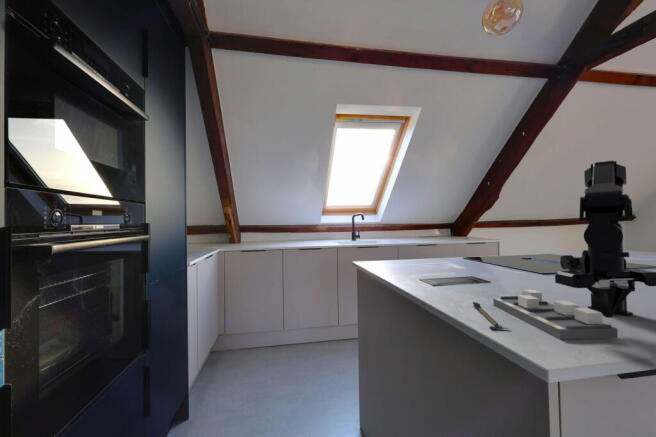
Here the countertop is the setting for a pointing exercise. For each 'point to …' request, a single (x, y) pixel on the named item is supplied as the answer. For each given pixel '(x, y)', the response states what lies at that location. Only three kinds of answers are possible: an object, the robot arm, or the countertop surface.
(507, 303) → the switch bank
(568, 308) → the white rectangular block
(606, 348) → the countertop surface
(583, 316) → the off-white short block
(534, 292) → the white rectangular block
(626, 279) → the robot arm
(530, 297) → the tab
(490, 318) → the claw hammer
